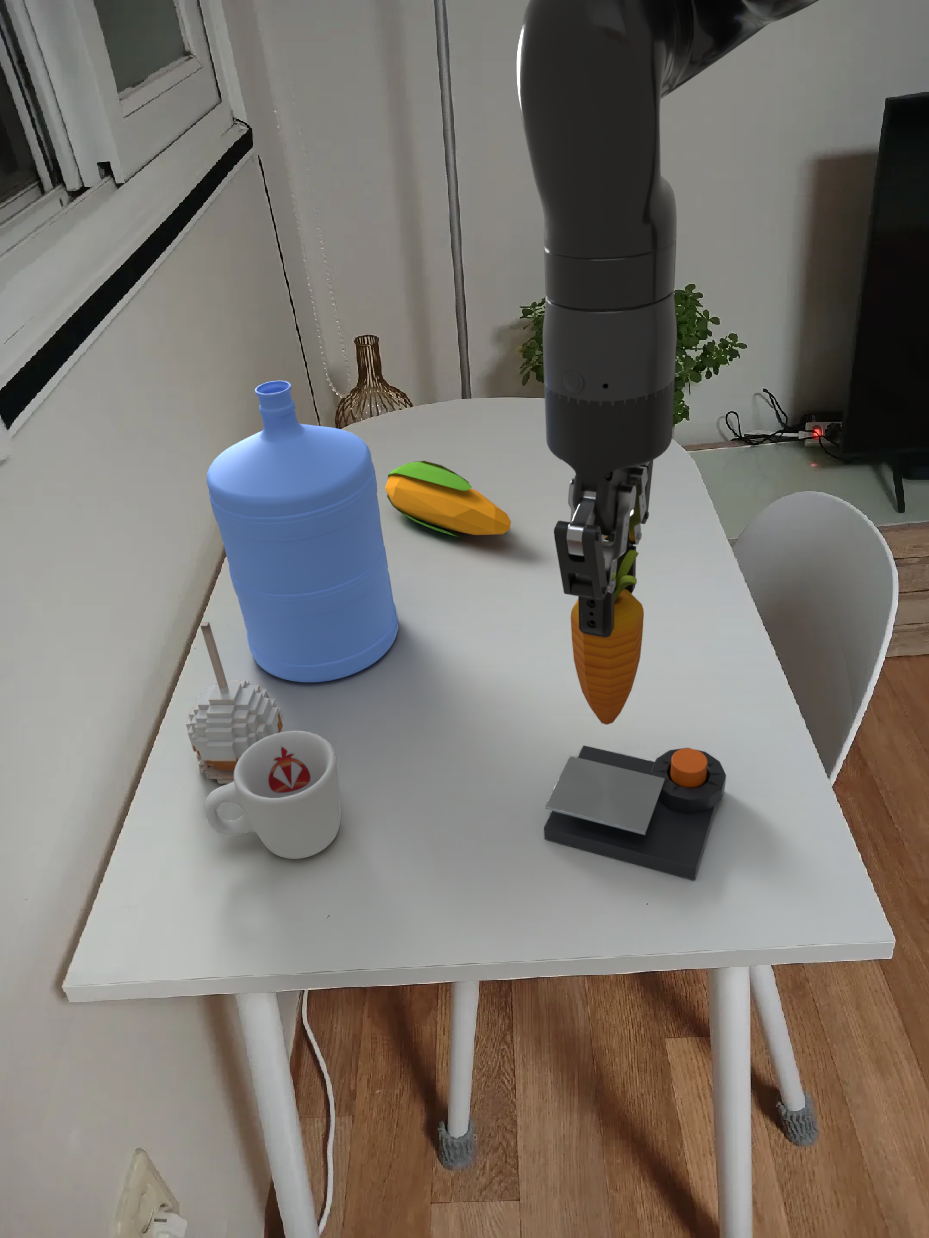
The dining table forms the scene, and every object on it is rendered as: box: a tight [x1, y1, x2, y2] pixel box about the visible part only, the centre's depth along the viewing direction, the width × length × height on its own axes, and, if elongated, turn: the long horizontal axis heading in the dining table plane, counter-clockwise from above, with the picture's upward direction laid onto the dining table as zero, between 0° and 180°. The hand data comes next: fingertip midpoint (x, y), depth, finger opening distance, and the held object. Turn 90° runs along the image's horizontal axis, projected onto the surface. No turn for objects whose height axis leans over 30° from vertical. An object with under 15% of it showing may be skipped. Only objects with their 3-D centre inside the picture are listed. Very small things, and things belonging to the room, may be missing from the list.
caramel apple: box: [185, 621, 284, 784], centre depth 82 cm, size 8×8×15 cm
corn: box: [384, 460, 512, 538], centre depth 116 cm, size 7×8×20 cm
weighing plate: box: [544, 755, 665, 835], centre depth 75 cm, size 8×6×1 cm
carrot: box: [570, 550, 645, 726], centre depth 66 cm, size 5×5×15 cm
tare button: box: [670, 747, 707, 788], centre depth 76 cm, size 3×3×2 cm
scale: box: [543, 745, 727, 881], centre depth 77 cm, size 12×11×3 cm
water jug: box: [206, 380, 399, 683], centre depth 92 cm, size 16×16×28 cm
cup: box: [204, 730, 342, 860], centre depth 76 cm, size 11×8×8 cm
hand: (607, 610), depth 65 cm, fingers closed on carrot, 4 cm apart
